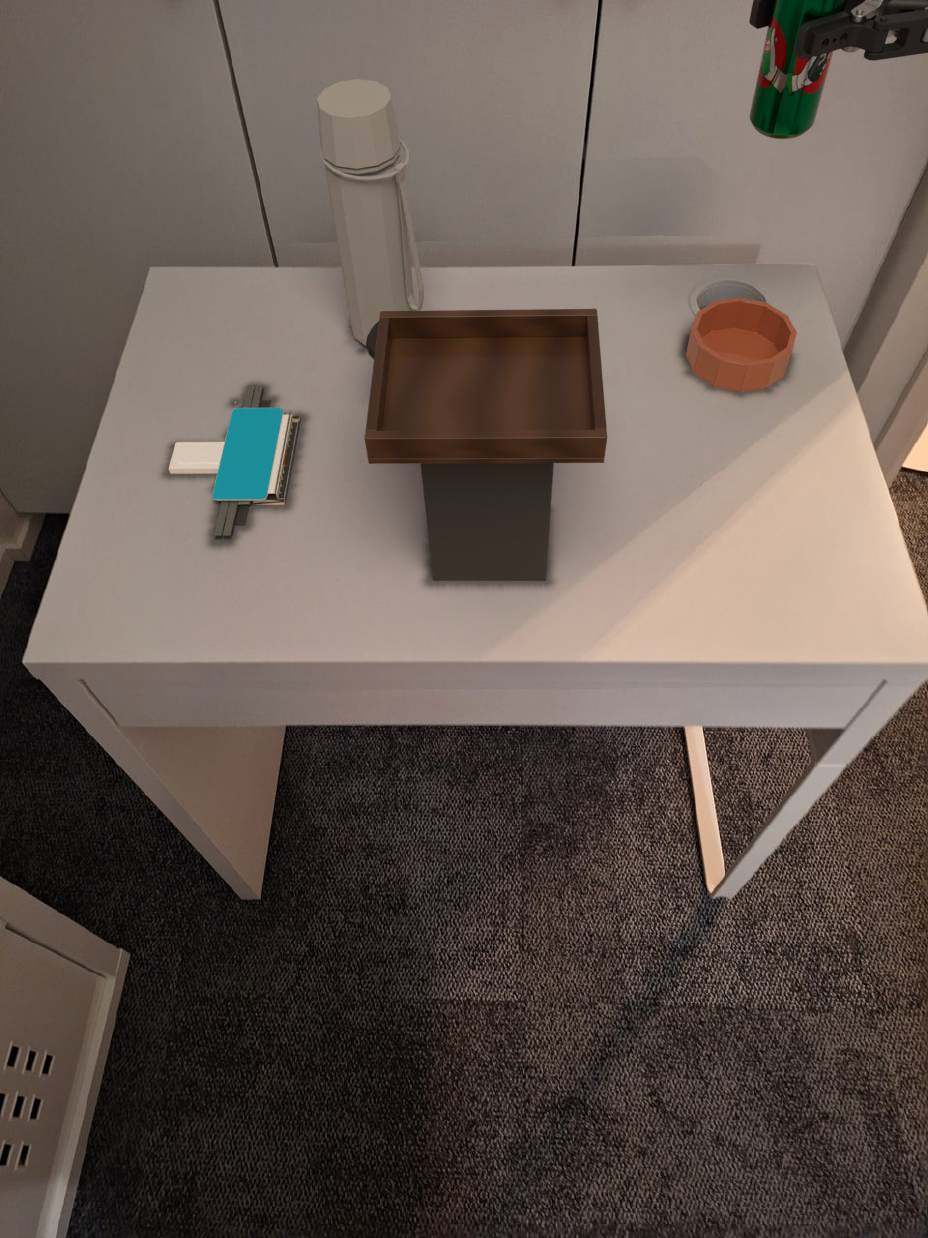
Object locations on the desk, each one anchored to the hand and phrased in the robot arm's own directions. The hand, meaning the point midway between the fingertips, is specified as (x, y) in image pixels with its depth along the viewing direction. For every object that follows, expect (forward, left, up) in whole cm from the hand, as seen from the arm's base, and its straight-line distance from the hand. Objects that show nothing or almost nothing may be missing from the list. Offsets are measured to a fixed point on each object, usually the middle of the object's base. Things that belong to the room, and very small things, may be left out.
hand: (777, 26), depth 67 cm
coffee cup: (+26, +13, -33) cm, 44 cm away
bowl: (-3, -5, -33) cm, 34 cm away
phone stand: (+40, +26, -33) cm, 58 cm away
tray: (+13, +27, -15) cm, 34 cm away
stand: (+13, +27, -33) cm, 45 cm away
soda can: (-2, -2, -8) cm, 9 cm away
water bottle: (+33, +3, -33) cm, 47 cm away
